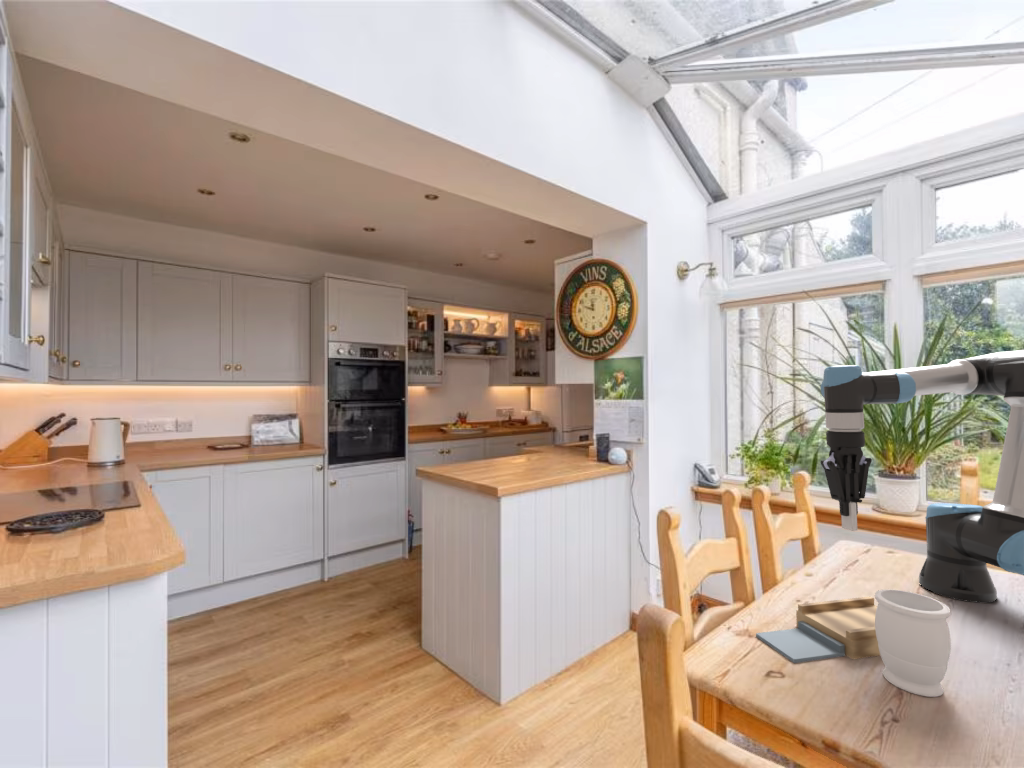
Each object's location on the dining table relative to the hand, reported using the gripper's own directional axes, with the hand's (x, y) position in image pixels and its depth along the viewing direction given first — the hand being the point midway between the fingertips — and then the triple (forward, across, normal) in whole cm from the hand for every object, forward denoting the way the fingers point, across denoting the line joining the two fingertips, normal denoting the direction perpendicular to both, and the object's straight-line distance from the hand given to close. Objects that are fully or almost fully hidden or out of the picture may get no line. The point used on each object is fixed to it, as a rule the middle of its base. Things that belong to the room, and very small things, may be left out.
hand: (849, 529), depth 113 cm
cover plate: (+20, +24, +8) cm, 32 cm away
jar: (+20, +14, +24) cm, 34 cm away
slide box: (+20, +8, +8) cm, 23 cm away
